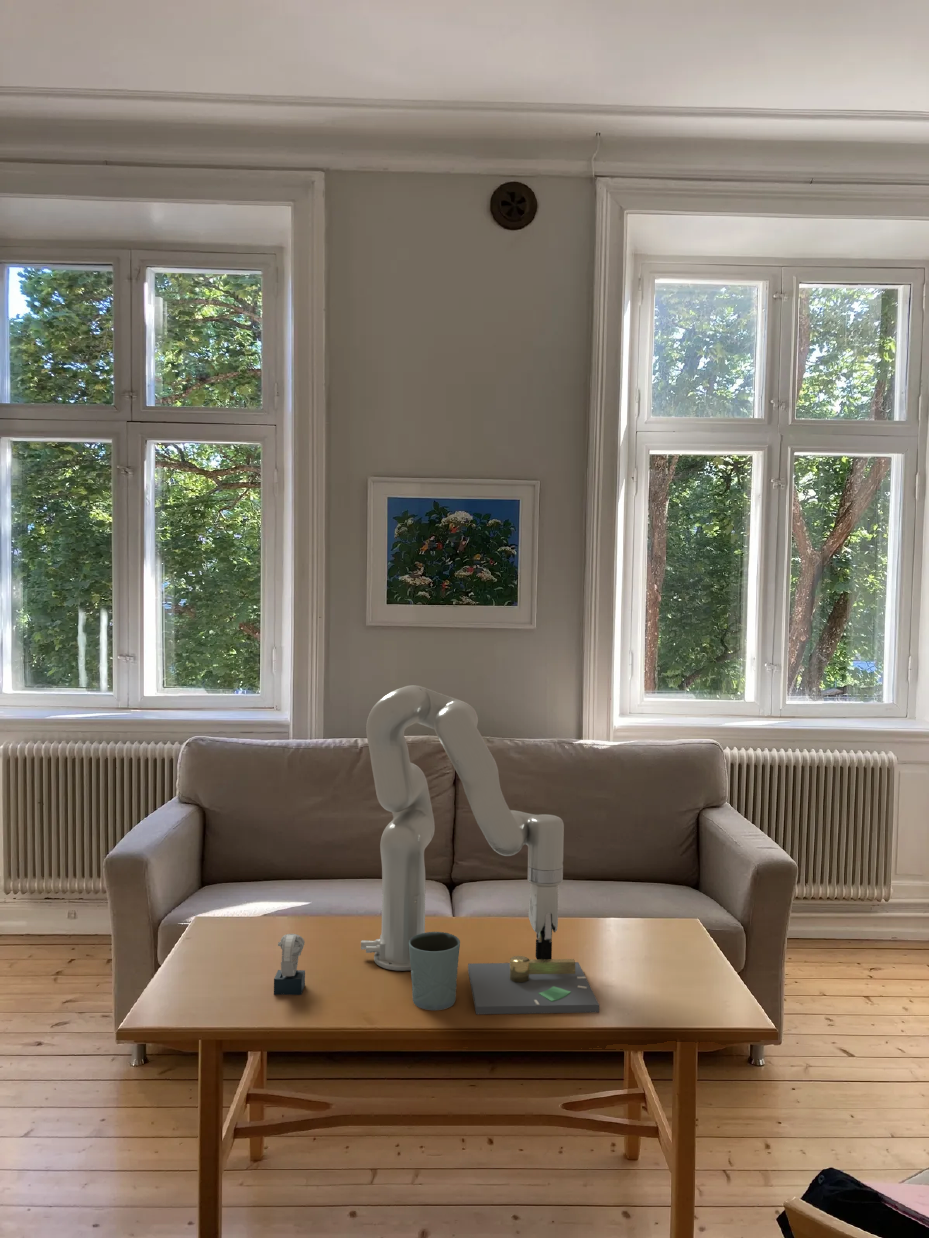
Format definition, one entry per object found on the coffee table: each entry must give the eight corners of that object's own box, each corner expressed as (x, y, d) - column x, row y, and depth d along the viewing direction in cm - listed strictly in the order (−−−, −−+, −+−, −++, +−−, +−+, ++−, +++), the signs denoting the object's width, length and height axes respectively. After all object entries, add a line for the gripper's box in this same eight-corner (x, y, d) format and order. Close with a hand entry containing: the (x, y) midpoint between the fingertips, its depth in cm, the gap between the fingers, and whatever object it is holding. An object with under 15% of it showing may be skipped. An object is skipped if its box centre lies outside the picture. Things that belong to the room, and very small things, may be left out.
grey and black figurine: (306, 980, 182) (307, 928, 182) (299, 998, 174) (300, 943, 174) (279, 980, 182) (280, 928, 182) (271, 998, 174) (272, 943, 174)
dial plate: (476, 1014, 169) (476, 1005, 169) (468, 970, 189) (468, 962, 189) (599, 1012, 171) (599, 1003, 171) (578, 968, 191) (578, 961, 191)
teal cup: (467, 995, 177) (468, 936, 177) (445, 1016, 168) (446, 954, 167) (422, 985, 181) (423, 928, 181) (398, 1006, 172) (399, 945, 171)
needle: (511, 982, 179) (511, 963, 179) (508, 973, 183) (508, 955, 183) (576, 981, 180) (576, 962, 180) (572, 973, 184) (572, 955, 184)
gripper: (522, 863, 195) (521, 945, 195) (533, 885, 180) (531, 974, 180) (556, 863, 195) (554, 945, 196) (569, 885, 180) (567, 973, 181)
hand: (543, 958), depth 188 cm, fingers closed
